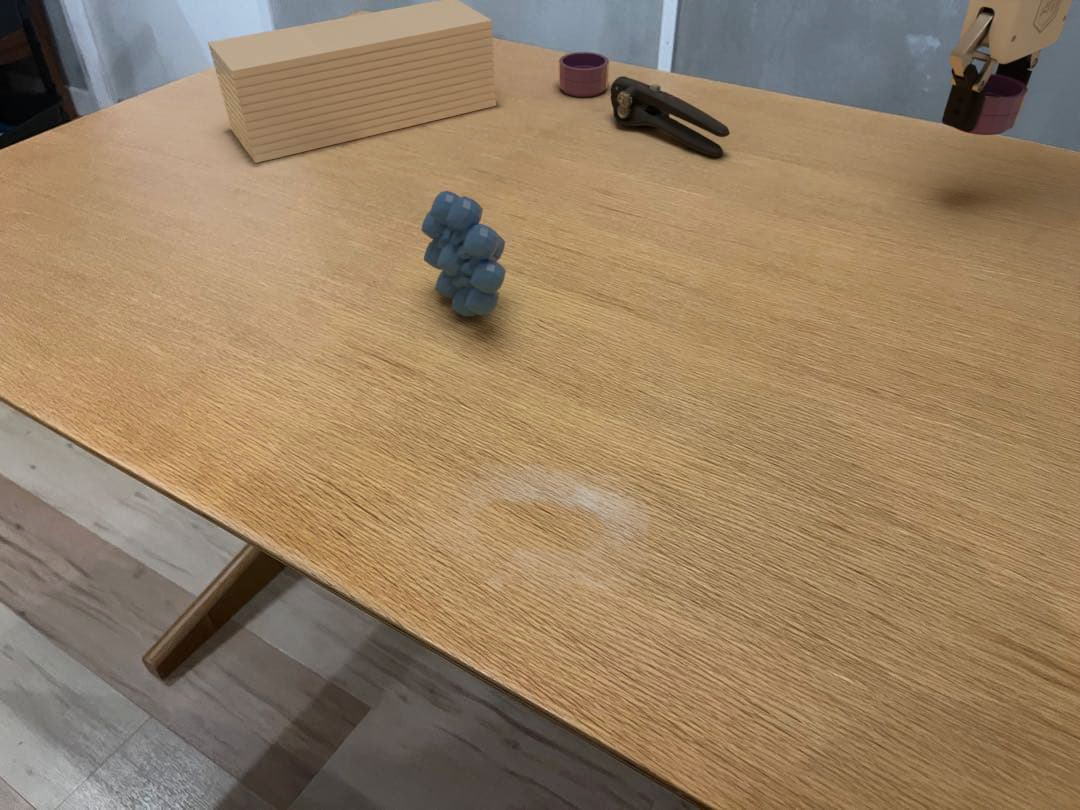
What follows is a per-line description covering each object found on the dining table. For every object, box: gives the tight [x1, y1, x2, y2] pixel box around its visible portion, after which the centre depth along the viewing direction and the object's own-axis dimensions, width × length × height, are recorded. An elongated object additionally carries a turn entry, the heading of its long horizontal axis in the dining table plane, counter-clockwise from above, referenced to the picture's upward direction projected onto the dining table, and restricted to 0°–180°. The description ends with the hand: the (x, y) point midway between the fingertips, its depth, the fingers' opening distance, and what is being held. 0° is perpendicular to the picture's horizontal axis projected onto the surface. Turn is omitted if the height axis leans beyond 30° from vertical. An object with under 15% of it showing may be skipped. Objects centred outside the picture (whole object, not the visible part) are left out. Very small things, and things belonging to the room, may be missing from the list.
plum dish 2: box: [943, 71, 1029, 136], centre depth 81 cm, size 7×7×4 cm
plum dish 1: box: [558, 51, 610, 98], centre depth 111 cm, size 7×7×4 cm
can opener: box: [610, 75, 730, 157], centre depth 99 cm, size 18×7×6 cm, turn 41°
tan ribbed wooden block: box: [207, 0, 497, 164], centre depth 102 cm, size 32×11×11 cm, turn 120°
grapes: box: [421, 190, 507, 318], centre depth 70 cm, size 12×7×12 cm, turn 34°
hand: (980, 115), depth 82 cm, fingers closed on plum dish 2, 6 cm apart
